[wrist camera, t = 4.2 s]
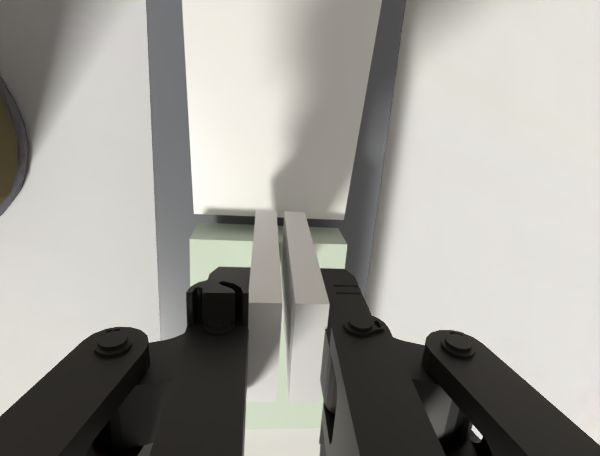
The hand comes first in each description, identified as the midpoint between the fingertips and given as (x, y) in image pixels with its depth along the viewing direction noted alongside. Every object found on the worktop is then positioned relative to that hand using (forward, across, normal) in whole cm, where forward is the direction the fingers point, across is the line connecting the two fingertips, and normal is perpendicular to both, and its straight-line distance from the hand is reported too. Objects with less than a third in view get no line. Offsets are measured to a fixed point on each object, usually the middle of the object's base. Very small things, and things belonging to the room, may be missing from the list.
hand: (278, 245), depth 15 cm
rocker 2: (+2, 0, +6) cm, 6 cm away
